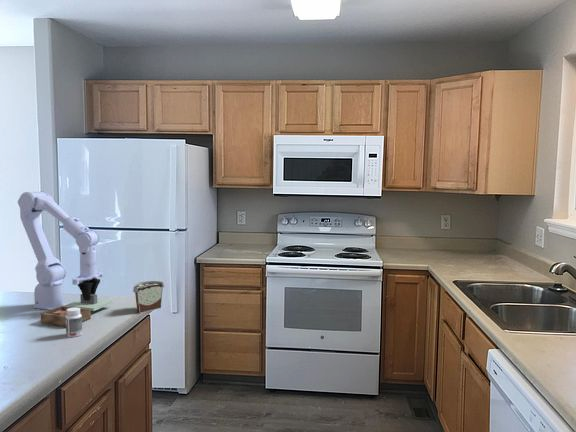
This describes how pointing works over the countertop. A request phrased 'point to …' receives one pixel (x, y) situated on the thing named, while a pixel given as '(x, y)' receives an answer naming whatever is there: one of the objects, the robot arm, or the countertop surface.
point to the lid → (90, 303)
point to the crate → (62, 316)
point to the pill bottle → (73, 322)
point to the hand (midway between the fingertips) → (89, 299)
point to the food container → (148, 295)
